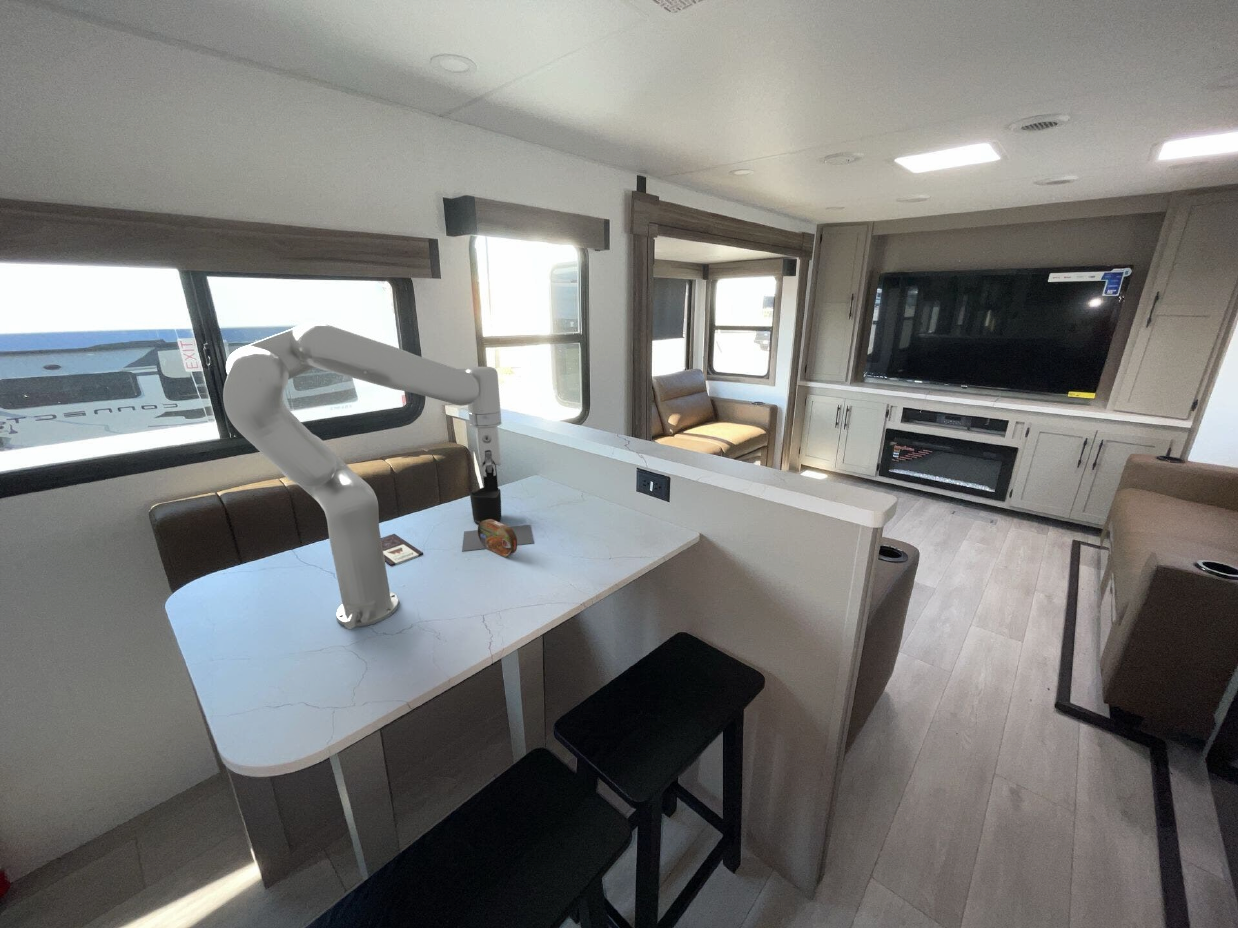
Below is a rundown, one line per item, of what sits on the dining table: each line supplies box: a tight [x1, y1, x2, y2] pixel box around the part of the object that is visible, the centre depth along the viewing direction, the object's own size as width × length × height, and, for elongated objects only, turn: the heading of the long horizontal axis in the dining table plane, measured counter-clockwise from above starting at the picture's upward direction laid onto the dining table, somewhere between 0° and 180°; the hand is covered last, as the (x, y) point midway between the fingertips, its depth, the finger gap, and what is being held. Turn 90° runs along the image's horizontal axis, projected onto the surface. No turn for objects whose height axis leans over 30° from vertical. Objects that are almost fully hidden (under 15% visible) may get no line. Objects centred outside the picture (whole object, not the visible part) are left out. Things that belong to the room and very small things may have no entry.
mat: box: [461, 524, 535, 552], centre depth 144 cm, size 13×20×1 cm, turn 105°
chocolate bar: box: [381, 533, 424, 567], centre depth 136 cm, size 9×1×18 cm
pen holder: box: [469, 486, 502, 526], centre depth 154 cm, size 9×9×10 cm
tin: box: [477, 519, 518, 558], centre depth 135 cm, size 15×3×8 cm, turn 51°
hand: (491, 484), depth 122 cm, fingers open, 9 cm apart
